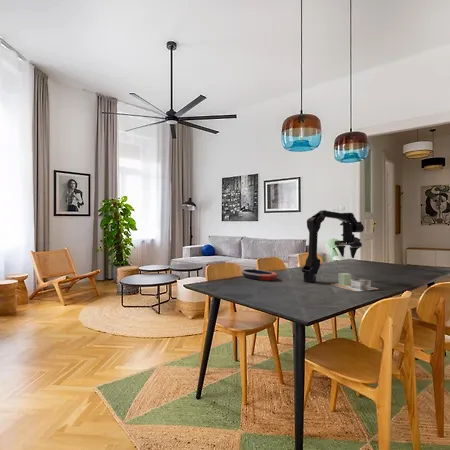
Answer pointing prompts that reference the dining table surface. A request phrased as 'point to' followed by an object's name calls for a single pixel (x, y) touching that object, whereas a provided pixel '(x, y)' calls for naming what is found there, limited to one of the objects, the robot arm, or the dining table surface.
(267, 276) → the dish
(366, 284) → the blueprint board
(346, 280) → the sage block
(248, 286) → the dining table surface
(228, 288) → the dining table surface
